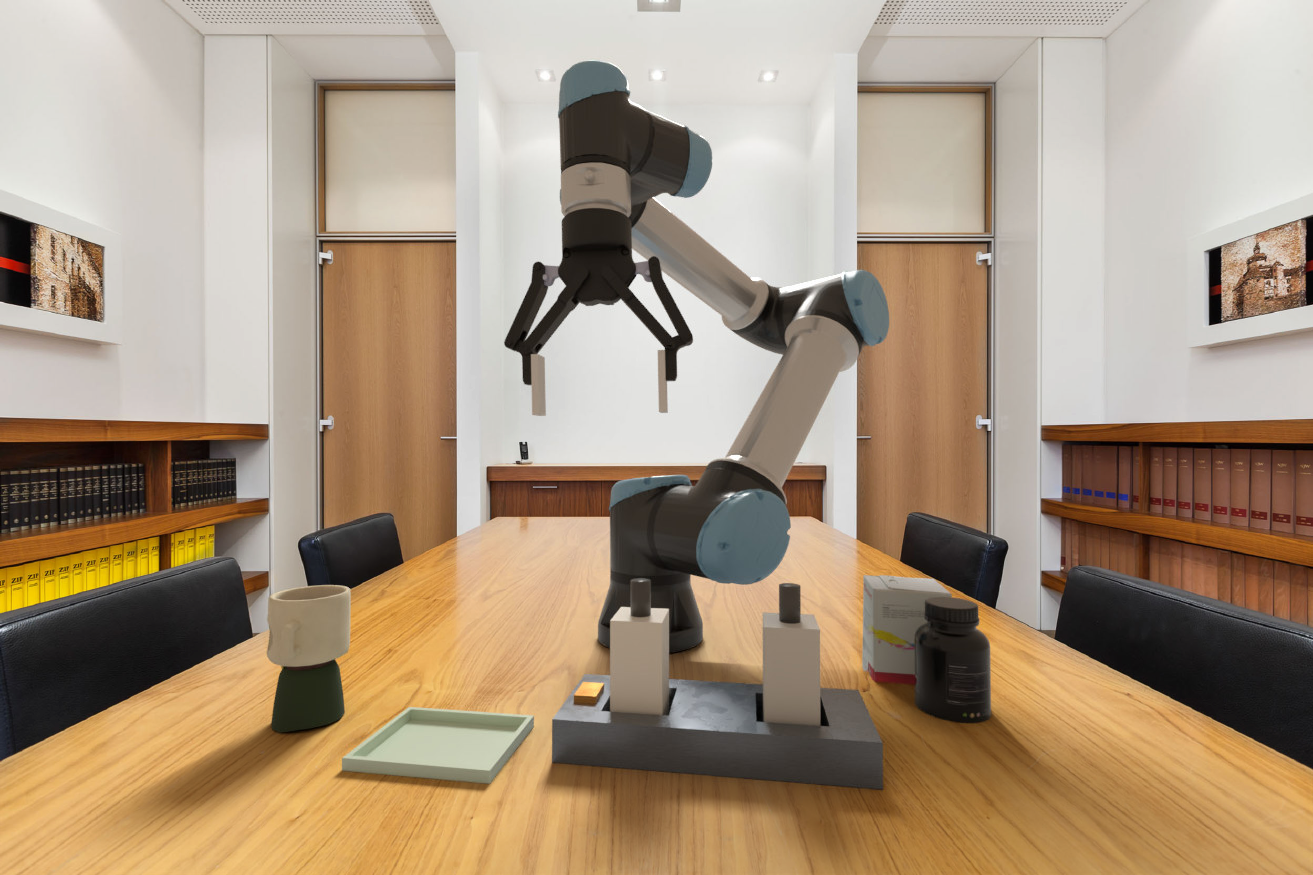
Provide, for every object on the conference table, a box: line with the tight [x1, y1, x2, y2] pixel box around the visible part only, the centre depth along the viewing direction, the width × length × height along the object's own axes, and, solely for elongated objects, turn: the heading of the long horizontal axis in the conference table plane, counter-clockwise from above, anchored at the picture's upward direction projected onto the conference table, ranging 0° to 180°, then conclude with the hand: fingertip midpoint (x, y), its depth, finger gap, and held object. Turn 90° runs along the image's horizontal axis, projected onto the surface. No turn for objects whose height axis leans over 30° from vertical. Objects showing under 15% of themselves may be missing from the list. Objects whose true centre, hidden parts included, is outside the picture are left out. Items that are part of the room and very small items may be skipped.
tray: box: [341, 706, 535, 785], centre depth 54 cm, size 10×13×2 cm
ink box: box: [861, 574, 953, 685], centre depth 70 cm, size 9×9×12 cm
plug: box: [609, 578, 670, 716], centre depth 53 cm, size 4×4×14 cm
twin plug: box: [762, 582, 821, 726], centre depth 51 cm, size 4×4×14 cm
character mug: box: [266, 584, 352, 734], centre depth 59 cm, size 11×7×13 cm, turn 9°
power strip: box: [551, 673, 884, 791], centre depth 52 cm, size 10×26×6 cm, turn 81°
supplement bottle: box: [914, 596, 992, 724], centre depth 60 cm, size 7×7×12 cm
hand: (600, 414), depth 65 cm, fingers open, 13 cm apart
